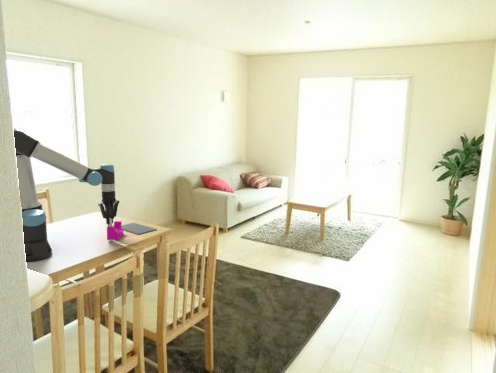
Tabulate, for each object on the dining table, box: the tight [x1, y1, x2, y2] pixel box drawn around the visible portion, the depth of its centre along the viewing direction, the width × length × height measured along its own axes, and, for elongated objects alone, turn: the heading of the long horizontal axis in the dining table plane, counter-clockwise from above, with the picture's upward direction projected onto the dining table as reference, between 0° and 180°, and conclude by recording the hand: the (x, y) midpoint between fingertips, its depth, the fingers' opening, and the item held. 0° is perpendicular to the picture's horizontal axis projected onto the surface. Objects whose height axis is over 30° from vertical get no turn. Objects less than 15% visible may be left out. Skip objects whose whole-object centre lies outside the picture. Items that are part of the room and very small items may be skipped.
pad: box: [122, 222, 158, 235], centre depth 234 cm, size 14×24×1 cm, turn 53°
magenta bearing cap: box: [106, 220, 124, 241], centre depth 217 cm, size 15×6×8 cm, turn 2°
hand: (110, 229), depth 219 cm, fingers closed
